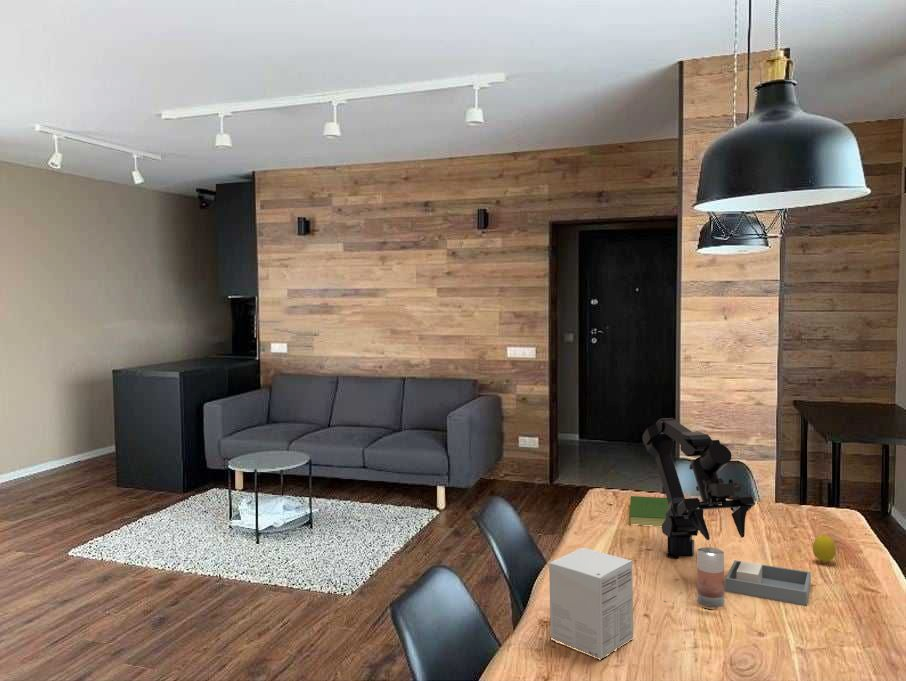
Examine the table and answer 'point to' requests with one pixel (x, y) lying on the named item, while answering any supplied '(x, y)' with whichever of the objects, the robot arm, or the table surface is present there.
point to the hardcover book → (648, 510)
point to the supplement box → (591, 601)
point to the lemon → (824, 548)
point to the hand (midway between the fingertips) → (725, 538)
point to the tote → (772, 584)
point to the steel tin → (710, 577)
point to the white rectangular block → (749, 572)
